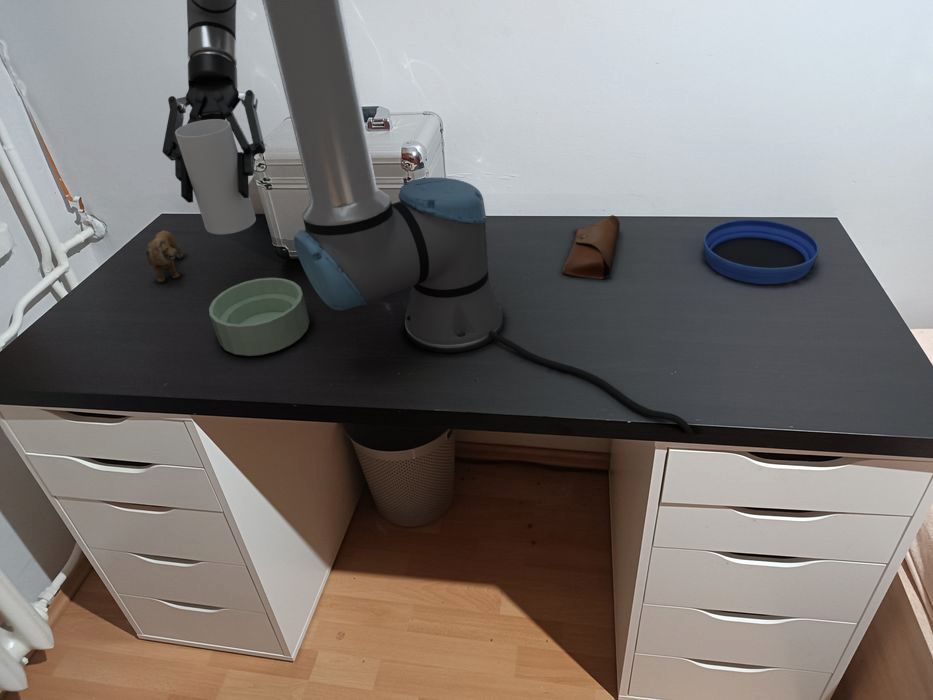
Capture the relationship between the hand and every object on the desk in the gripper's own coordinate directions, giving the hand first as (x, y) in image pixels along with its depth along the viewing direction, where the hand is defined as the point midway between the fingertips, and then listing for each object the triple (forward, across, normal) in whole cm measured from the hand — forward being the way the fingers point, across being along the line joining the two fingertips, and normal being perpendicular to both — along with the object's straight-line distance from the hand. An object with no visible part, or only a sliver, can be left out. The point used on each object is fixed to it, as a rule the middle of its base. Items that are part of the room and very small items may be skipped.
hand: (215, 196), depth 107 cm
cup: (+2, 0, -7) cm, 7 cm away
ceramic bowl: (+21, -6, -6) cm, 23 cm away
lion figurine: (+5, +17, -23) cm, 29 cm away
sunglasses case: (+9, -61, -18) cm, 65 cm away
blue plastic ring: (+14, -88, -13) cm, 90 cm away
